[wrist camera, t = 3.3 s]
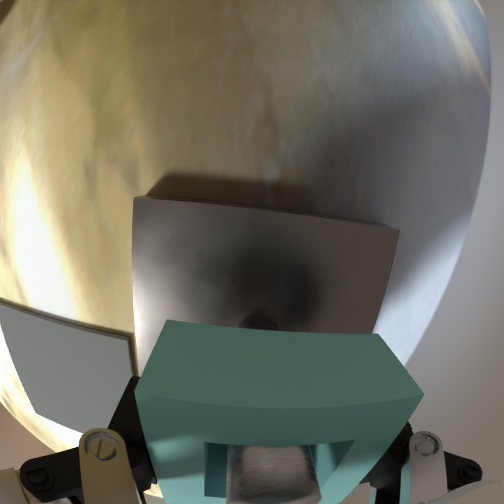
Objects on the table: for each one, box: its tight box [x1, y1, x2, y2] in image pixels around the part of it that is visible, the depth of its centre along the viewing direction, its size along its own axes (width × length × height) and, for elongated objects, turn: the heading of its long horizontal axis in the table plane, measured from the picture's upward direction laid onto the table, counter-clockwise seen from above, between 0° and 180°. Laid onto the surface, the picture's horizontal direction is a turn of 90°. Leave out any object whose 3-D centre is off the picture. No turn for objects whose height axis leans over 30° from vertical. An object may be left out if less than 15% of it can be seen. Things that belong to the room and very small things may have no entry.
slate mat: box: [0, 301, 135, 434], centre depth 15 cm, size 12×12×1 cm
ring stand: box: [132, 195, 399, 504], centre depth 9 cm, size 12×12×10 cm
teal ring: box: [134, 319, 424, 504], centre depth 7 cm, size 6×6×3 cm
